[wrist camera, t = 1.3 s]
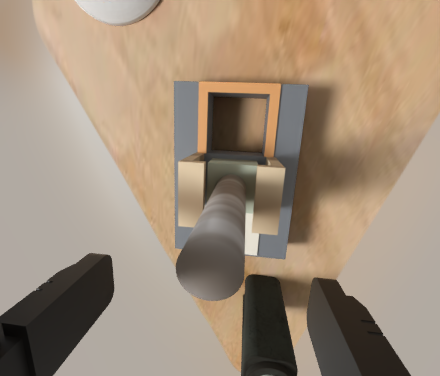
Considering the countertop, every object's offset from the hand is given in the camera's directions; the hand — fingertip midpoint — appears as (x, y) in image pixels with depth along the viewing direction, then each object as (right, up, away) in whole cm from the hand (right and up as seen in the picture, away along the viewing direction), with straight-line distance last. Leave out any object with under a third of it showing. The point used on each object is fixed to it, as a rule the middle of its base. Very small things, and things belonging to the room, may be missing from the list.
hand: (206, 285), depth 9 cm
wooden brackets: (+2, +5, +18) cm, 18 cm away
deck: (+3, +6, +21) cm, 22 cm away
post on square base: (+2, +5, +18) cm, 18 cm away
